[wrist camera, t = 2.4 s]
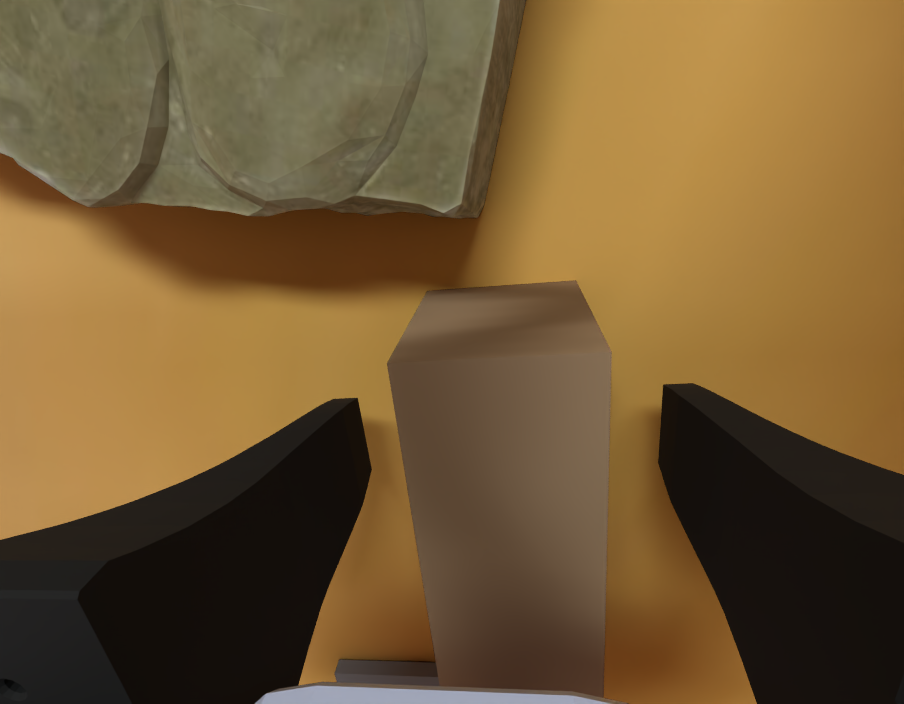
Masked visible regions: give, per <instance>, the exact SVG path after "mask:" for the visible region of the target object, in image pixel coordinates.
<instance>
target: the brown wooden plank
mask: <svg viewBox="0 0 904 704" xmlns="http://www.w3.org/2000/svg"><path fill="white" fill-rule="evenodd" d="M611 354H612V352H611V350H610V348H609V346H608V344H607V342H606V340H605V338H604V336H603V334H602V332H601V330H600V328H599V326H598V324H597V322H596V320H595V318H594V316H593V314H592V312H591V310H590V308H589V306H588V304H587V302H586V300H585V298H584V296H583V294H582V292H581V290H580V288H579V286H578V284H577V282H576V280H575V281H561V282H546V283H532V284H518V285H503V286H489V287H475V288H460V289H446V290H432V291H427V292H426V294H425V296H424V298H423V299H422V301H421V303H420V305H419V307H418V308H417V310H416V312H415V314H414V316H413V317H412V319H411V321H410V323H409V325H408V326H407V328H406V330H405V332H404V334H403V335H402V337H401V339H400V341H399V343H398V344H397V346H396V348H395V350H394V352H393V353H392V355H391V357H390V359H389V361H388V362H387V366H388V372H389V378H390V384H391V391H392V397H393V403H394V409H395V415H396V421H397V427H398V433H399V440H400V446H401V452H402V458H403V464H404V470H405V476H406V482H407V489H408V495H409V501H410V507H411V513H412V519H413V525H414V531H415V538H416V544H417V550H418V556H419V562H420V568H421V574H422V580H423V587H424V593H425V599H426V605H427V611H428V617H429V623H430V629H431V636H432V642H433V648H434V654H435V660H436V666H437V672H438V678H439V685H440V686H444V687H471V688H497V689H523V690H549V691H573V692H578V693H582V694H587V695H592V696H596V697H601V698H603V697H604V654H605V611H606V568H607V525H608V482H609V440H610V397H611Z"/></svg>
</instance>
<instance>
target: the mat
mask: <svg viewBox="0 0 904 704" xmlns="http://www.w3.org/2000/svg"><path fill="white" fill-rule="evenodd" d="M335 677H336V680H337V682H340V683H366V684H392V685H418V686H440V685H439V678H438V672H437V666H436V663H431V662H400V661H369V660H339V662H338V665H337V668H336V671H335Z"/></svg>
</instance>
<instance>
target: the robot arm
mask: <svg viewBox="0 0 904 704" xmlns="http://www.w3.org/2000/svg"><path fill="white" fill-rule="evenodd" d="M658 463H659V467H660V470H661V473H662V476H663V480H664V483H665V486H666V489H667V492H668V495H669V498H670V501H671V503H672V505H673V507H674V509H675V511H676V513H677V516H678V518H679V520H680V522H681V524H682V526H683V528H684V530H685V532H686V534H687V536H688V538H689V540H690V542H691V544H692V546H693V548H694V550H695V552H696V554H697V556H698V558H699V560H700V562H701V564H702V566H703V568H704V570H705V572H706V574H707V576H708V578H709V580H710V582H711V585H712V587H713V589H714V591H715V593H716V595H717V597H718V600H719V602H720V604H721V606H722V609H723V611H724V613H725V616H726V619H727V621H728V624H729V627H730V629H731V632H732V635H733V638H734V640H735V643H736V646H737V648H738V651H739V654H740V656H741V659H742V662H743V665H744V668H745V670H746V673H747V676H748V679H749V682H750V685H751V688H752V691H753V693H754V696H755V699H756V702H757V704H904V475H902V474H899V473H896V472H893V471H890V470H887V469H884V468H881V467H878V466H875V465H872V464H870V463H867V462H864V461H862V460H859V459H856V458H854V457H851V456H848V455H845V454H843V453H840V452H838V451H835V450H833V449H830V448H828V447H825V446H823V445H820V444H818V443H816V442H814V441H811V440H809V439H807V438H805V437H802V436H800V435H798V434H796V433H793V432H791V431H789V430H787V429H785V428H783V427H781V426H778V425H776V424H774V423H772V422H770V421H768V420H766V419H764V418H762V417H760V416H758V415H756V414H754V413H752V412H750V411H748V410H746V409H744V408H743V407H741V406H739V405H737V404H735V403H733V402H731V401H729V400H727V399H725V398H723V397H721V396H719V395H717V394H715V393H713V392H711V391H709V390H707V389H705V388H703V387H701V386H698V385H696V384H693V383H688V384H665V385H663V397H662V412H661V428H660V444H659V459H658ZM371 470H372V469H371V464H370V459H369V453H368V448H367V443H366V438H365V433H364V428H363V423H362V418H361V413H360V408H359V403H358V398H345V399H332V400H330V401H328V402H326V403H324V404H322V405H320V406H318V407H317V408H315V409H313V410H312V411H310V412H308V413H307V414H305V415H303V416H302V417H300V418H299V419H297V420H295V421H294V422H292V423H291V424H289V425H287V426H286V427H284V428H283V429H281V430H279V431H278V432H276V433H275V434H273V435H271V436H270V437H268V438H266V439H264V440H263V441H261V442H259V443H257V444H256V445H254V446H252V447H250V448H249V449H247V450H245V451H243V452H242V453H240V454H238V455H236V456H235V457H233V458H231V459H229V460H227V461H225V462H223V463H221V464H219V465H217V466H215V467H213V468H211V469H209V470H207V471H205V472H203V473H201V474H198V475H196V476H194V477H192V478H190V479H188V480H185V481H183V482H181V483H178V484H176V485H173V486H171V487H168V488H166V489H163V490H161V491H158V492H156V493H153V494H151V495H148V496H145V497H143V498H140V499H138V500H135V501H133V502H130V503H127V504H124V505H121V506H118V507H115V508H112V509H109V510H106V511H103V512H100V513H97V514H94V515H91V516H87V517H84V518H81V519H78V520H74V521H71V522H68V523H64V524H61V525H57V526H53V527H50V528H46V529H42V530H38V531H34V532H30V533H26V534H22V535H18V536H14V537H10V538H6V539H2V540H0V704H628V703H625V702H620V701H615V700H611V699H606V698H601V697H596V696H592V695H587V694H582V693H578V692H573V691H549V690H523V689H497V688H471V687H444V686H418V685H392V684H366V683H340V682H318V683H312V684H306V685H300V686H298V684H299V681H300V677H301V673H302V670H303V666H304V663H305V659H306V655H307V652H308V648H309V645H310V642H311V638H312V635H313V632H314V628H315V625H316V622H317V618H318V615H319V612H320V609H321V605H322V603H323V600H324V597H325V595H326V592H327V589H328V587H329V584H330V582H331V580H332V577H333V575H334V572H335V570H336V568H337V565H338V563H339V561H340V558H341V556H342V554H343V551H344V549H345V546H346V544H347V542H348V539H349V537H350V535H351V532H352V530H353V527H354V525H355V523H356V520H357V518H358V515H359V513H360V510H361V508H362V505H363V502H364V498H365V494H366V491H367V487H368V482H369V478H370V474H371Z"/></svg>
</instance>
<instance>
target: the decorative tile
mask: <svg viewBox="0 0 904 704" xmlns="http://www.w3.org/2000/svg"><path fill="white" fill-rule="evenodd" d="M525 3H526V0H0V153H2V154H5V155H7V156H9V157H12V158H13V159H14V160H15V161H16V162H17V164H18V165H20V166H21V167H23V168H24V169H26V170H27V171H29V172H30V173H32V174H33V175H35V176H37V177H38V178H40V179H41V180H43V181H44V182H46V183H47V184H49V185H50V186H52V187H53V188H55V189H56V190H58V191H59V192H61V193H62V194H64V195H66V196H67V197H69V198H70V199H72V200H73V201H76V202H78V203H80V204H82V205H84V206H87V207H112V206H123V205H132V204H138V203H150V204H157V205H163V206H179V207H198V208H203V209H208V210H216V211H228V212H232V213H237V214H241V215H246V216H272V215H276V214H280V213H284V212H288V211H293V210H303V209H321V208H326V209H330V210H333V211H337V212H340V213H359V214H363V215H367V216H369V215H376V214H384V213H396V212H412V213H423V214H426V215H429V216H432V217H451V218H459V219H460V218H466V217H468V218H478V216H479V215H480V213H481V211H482V209H483V207H484V203H485V199H486V194H487V189H488V184H489V180H490V175H491V170H492V165H493V160H494V156H495V151H496V146H497V141H498V135H499V131H500V126H501V121H502V116H503V111H504V107H505V102H506V97H507V93H508V88H509V83H510V78H511V73H512V68H513V63H514V58H515V53H516V48H517V43H518V38H519V33H520V28H521V23H522V18H523V13H524V8H525Z"/></svg>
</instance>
